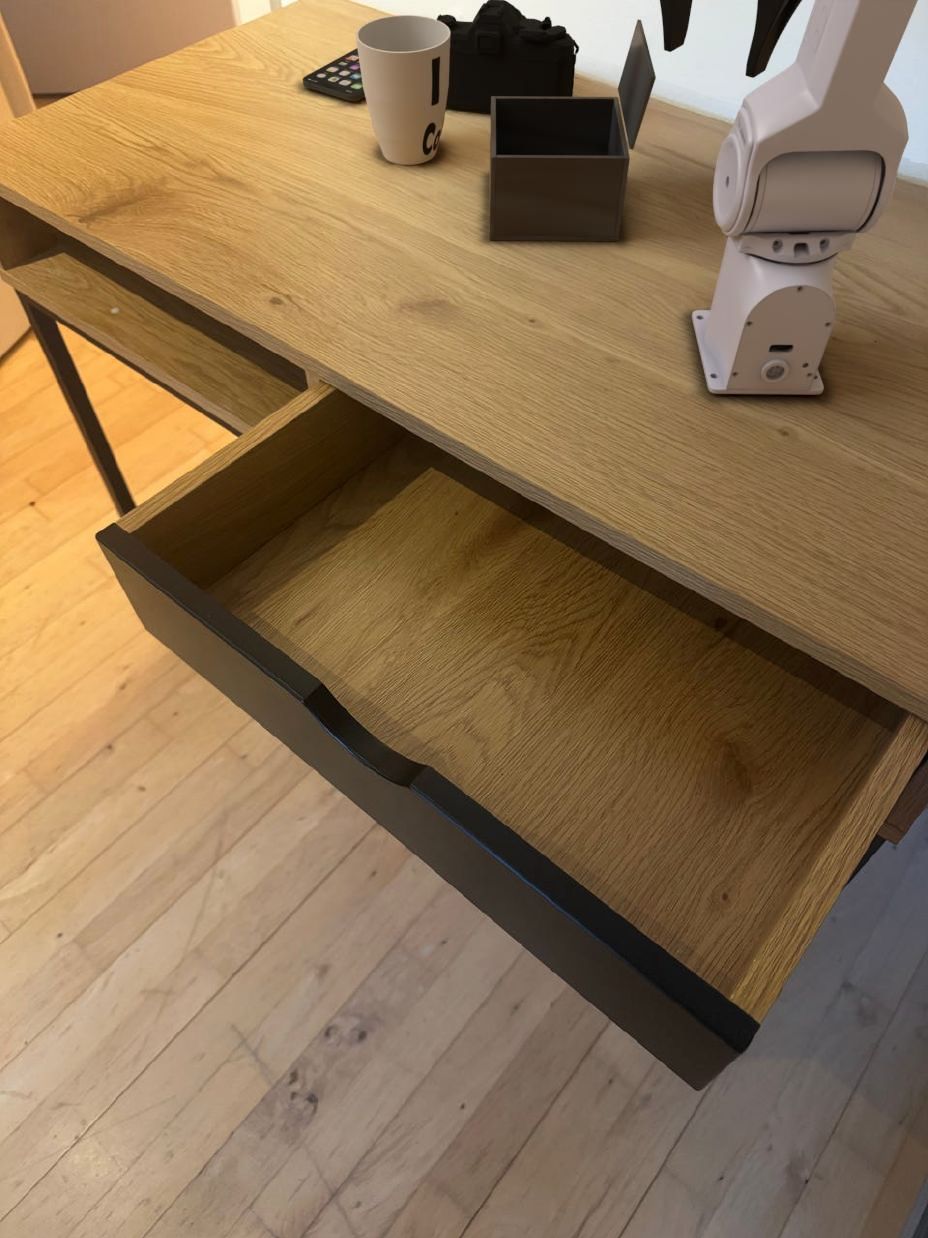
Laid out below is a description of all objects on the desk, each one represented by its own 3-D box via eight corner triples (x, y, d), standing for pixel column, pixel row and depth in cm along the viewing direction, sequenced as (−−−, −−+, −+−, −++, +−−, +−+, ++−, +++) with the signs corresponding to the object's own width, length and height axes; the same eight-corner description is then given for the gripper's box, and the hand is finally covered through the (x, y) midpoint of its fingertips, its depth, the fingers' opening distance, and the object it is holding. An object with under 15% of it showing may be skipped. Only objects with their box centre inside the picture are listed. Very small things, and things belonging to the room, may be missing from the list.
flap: (637, 18, 72) (641, 19, 72) (617, 88, 76) (621, 89, 76) (652, 76, 66) (656, 77, 66) (629, 148, 70) (633, 149, 70)
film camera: (585, 84, 94) (595, -17, 87) (566, 126, 88) (575, 21, 81) (445, 68, 97) (443, -31, 89) (418, 108, 91) (414, 5, 84)
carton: (489, 176, 82) (491, 95, 77) (608, 177, 82) (618, 96, 77) (489, 240, 76) (491, 156, 70) (618, 241, 76) (630, 157, 70)
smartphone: (439, 46, 98) (355, 96, 91) (440, 53, 99) (355, 103, 91) (385, 31, 101) (298, 79, 93) (385, 38, 101) (299, 86, 94)
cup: (441, 176, 82) (439, 55, 74) (356, 168, 83) (344, 48, 75) (459, 135, 87) (459, 18, 79) (378, 128, 88) (369, 11, 80)
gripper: (880, -151, 61) (818, 68, 72) (696, -185, 67) (665, 22, 78) (832, -128, 58) (775, 97, 69) (643, -166, 64) (618, 47, 75)
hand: (713, 59), depth 73 cm, fingers open, 7 cm apart
